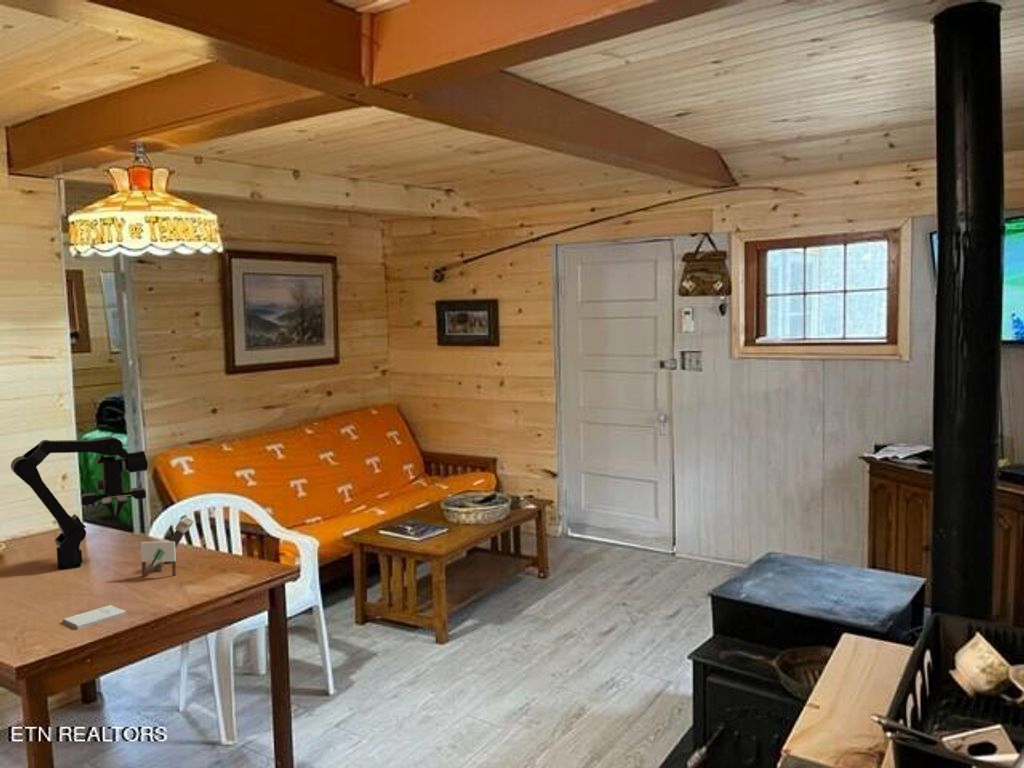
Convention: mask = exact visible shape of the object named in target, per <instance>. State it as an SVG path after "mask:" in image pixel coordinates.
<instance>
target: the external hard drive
mask: <svg viewBox="0 0 1024 768" xmlns="http://www.w3.org/2000/svg"><path fill="white" fill-rule="evenodd" d="M126 613H127V612H126V610H124V609H121V608H119V607H116V606H114V605H110V604H109V605H106V606H103V607H100V608H99V607H98V608H95V609H93V610H88V611H87V612H82V613H78V614H76V615H71V616H69V617H64V618H62V623H63V624H65V625H68V626H69V627H71V628H73V629H76V630H81V629H83V628H88V627H90V626H93V625H94V626H95V625H97V624H100V623H102V622H106V621H109V620H113V619H115V618H118V617H122V616H125V615H127V614H126Z"/></svg>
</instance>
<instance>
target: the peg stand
mask: <svg viewBox="0 0 1024 768" xmlns="http://www.w3.org/2000/svg"><path fill="white" fill-rule="evenodd" d="M164 564H171V575H172V576H173V577H176V576H177V562H176V561H164V562H160V563H159V564H158V565H156V566H155V567H154V568H153V572H163V571H164V570H165V568H164V567H165V566H164ZM141 574H142V576H141V577H147V562H142V561H141Z"/></svg>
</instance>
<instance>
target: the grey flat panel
mask: <svg viewBox="0 0 1024 768" xmlns="http://www.w3.org/2000/svg"><path fill="white" fill-rule="evenodd" d="M159 550H160V553H159V555H158V556H157V558H156V560H155V562H160V563H164V561H176V549H175V542H169V541H141V542H140V557H141V559H140V560H141V563H142V562H146V563H148V562H149V563H152V562H153V560H154V559H155V557H156V555H157V553H158V552H159Z"/></svg>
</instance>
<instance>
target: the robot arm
mask: <svg viewBox="0 0 1024 768" xmlns="http://www.w3.org/2000/svg"><path fill="white" fill-rule="evenodd" d="M65 453H68V454H69V453H72V454H74V453H94V454H98V455H99V456H98V458H97V459H95V463H96V464H101V465H102V480H97V482H96V484H97V492H101V491H102V493H103V494H96V492H94V491H93V492H86V493H82V494H81V495H80V500H81V505H82V506H88V505H95V503H96V502H97V501H100V502H101V505H102V506H106V509H108V511H109V513H110V515H111V518H112V520H113V522H114V523H117V522H118V519H119V515H120V513H121V510H122V508H123V506H124V505H125V504H127V503H128V498H131V497H132V498H134V499H135V500H139V499H140V500H141V499H142V500H143V499H146V498H147V491H146V489H145V488H144V487H143V486H140V487H133V488H131V490H130V491H129V490H128V491H124V478H123V477H124V476H123V471H126V472H127V473H128V474H131V473H132V474H133V473H141V472H146V471H148V466H149V462H148V461H147V460H148V459H147V456H146V451H144V450H139V451H134V452H133V451H132V452H128V451H127V450H125V448H124V446H123V443H122V441H121V440H120V439H119V438H117V437H114V436H112V435H111V436H110V435H109V436H108V435H107V436H102V437H96V438H93V439H92V438H91V439H85V440H84V439H83V440H82V439H76V440H74V439H73V440H72V439H71V440H69V439H68V440H61V439H60V440H51V439H50V440H48V439H43V440H41V441H40V442H39V443H38V444H36V445H35V446H34V447H32V448H30V449H29V450H28V451H26V452H25V453H24V454H23V455H20V456H16V457H15V458H14V459H13V460H12V461H11V463H10V469H11V471H12V472H13V473H14V474H15V475H16V476H17V477H19V479H21V480H22V481H23V482H24V483H25V484H26V485H28V486H29V487H30V489H31V490H32V491H33V492H34V494H35V495H36V496H37V497H38V499H39V500H40V502H42V504H43V505H44V506H45V508H46V509H47V510H48V512H49V513H50V514H51V515H52V517H53V518H54V519H55V521H56V523H57V526H58V528H59V530H60V532H61V533H60V534H59V535H58V536H57V537H56V538H55V539H54V543H55V544H56V546H57V547H56V559H57V560H56V562H57V563H56V569H57V570H58V571H60V570H61V571H62V570H66V569H74V568H80V567H82V564H83V553H82V548H80V546H81V544H82V542H83V541H84V539H85V538H86V536H87V531H86V528H87V526H86V525H85V524H84V523H83V522H82V521H81V519H80V518H79V516H78V515H77V514H76V513H74V514H73V515H72V516H71V515H70V514H69V513H68V512H67V511H66V509H65V508H64V507H63V506H62V504H61V503H60V501H59V500H58V499H57V497H56V496H55V495H54V493H52V491H51V490H50V489H49V487H48V486H47V485H46V484H45V482H44V481H43V479H42V477H41V474H40V472H39V470H38V466H39V465H40V464H41V463H42V462H43V461H44V460H45V459H46V458H47V457H48V456H49V455H50V454H65ZM103 455H105V456H103ZM115 456H118V457H116V458H115ZM112 500H115V510H114V504H113V501H112Z"/></svg>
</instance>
